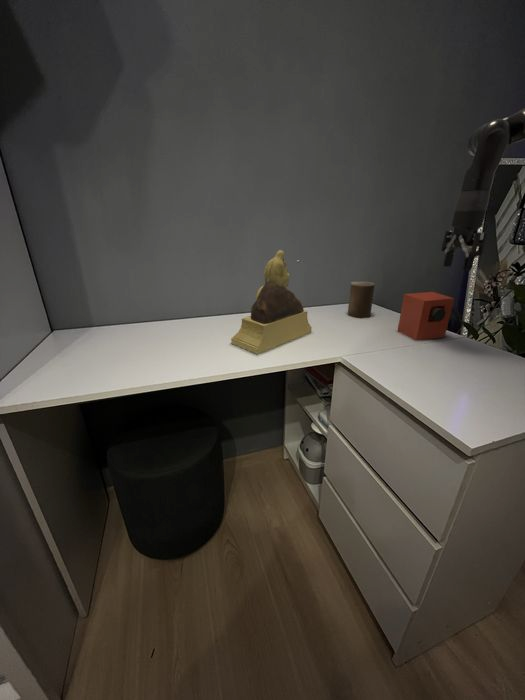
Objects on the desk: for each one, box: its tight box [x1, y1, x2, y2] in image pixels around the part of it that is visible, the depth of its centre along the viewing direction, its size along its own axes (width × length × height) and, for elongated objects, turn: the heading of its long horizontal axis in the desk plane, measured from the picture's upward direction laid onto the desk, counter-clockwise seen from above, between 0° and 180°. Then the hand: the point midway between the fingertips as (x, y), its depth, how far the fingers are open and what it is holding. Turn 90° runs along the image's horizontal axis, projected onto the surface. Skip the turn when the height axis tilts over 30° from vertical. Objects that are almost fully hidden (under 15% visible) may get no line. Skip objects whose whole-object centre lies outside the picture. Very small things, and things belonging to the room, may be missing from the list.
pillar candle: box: [347, 280, 376, 319], centre depth 128 cm, size 10×10×15 cm
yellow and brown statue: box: [230, 249, 313, 355], centre depth 101 cm, size 28×13×30 cm, turn 134°
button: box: [430, 308, 446, 322], centre depth 101 cm, size 2×4×4 cm, turn 104°
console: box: [397, 291, 455, 341], centre depth 107 cm, size 10×12×14 cm
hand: (456, 268), depth 90 cm, fingers open, 8 cm apart
